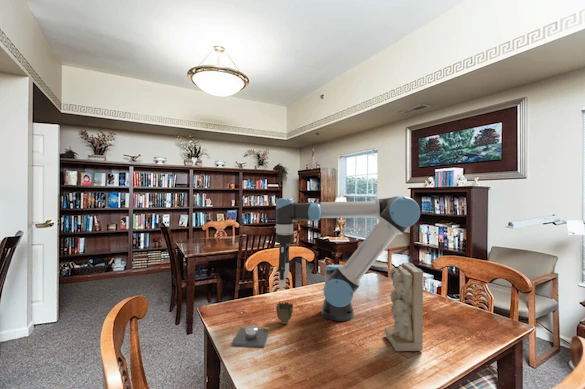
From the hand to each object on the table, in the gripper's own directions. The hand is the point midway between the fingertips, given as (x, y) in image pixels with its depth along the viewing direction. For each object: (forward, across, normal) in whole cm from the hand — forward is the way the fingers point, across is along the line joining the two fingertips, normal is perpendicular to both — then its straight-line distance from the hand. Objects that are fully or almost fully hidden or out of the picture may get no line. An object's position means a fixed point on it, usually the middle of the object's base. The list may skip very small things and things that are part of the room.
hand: (284, 282), depth 122 cm
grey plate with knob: (+18, +14, -11) cm, 25 cm away
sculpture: (+18, +12, +47) cm, 52 cm away
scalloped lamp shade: (+18, 0, 0) cm, 18 cm away
